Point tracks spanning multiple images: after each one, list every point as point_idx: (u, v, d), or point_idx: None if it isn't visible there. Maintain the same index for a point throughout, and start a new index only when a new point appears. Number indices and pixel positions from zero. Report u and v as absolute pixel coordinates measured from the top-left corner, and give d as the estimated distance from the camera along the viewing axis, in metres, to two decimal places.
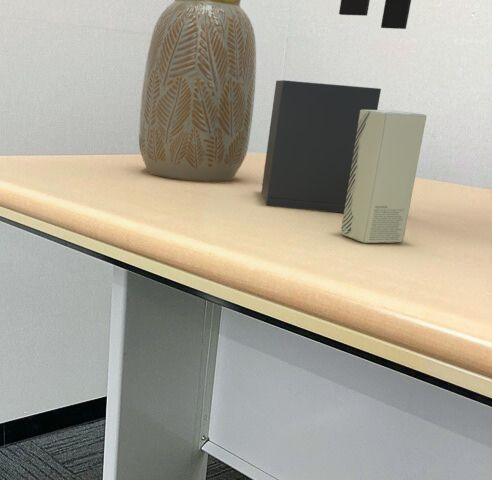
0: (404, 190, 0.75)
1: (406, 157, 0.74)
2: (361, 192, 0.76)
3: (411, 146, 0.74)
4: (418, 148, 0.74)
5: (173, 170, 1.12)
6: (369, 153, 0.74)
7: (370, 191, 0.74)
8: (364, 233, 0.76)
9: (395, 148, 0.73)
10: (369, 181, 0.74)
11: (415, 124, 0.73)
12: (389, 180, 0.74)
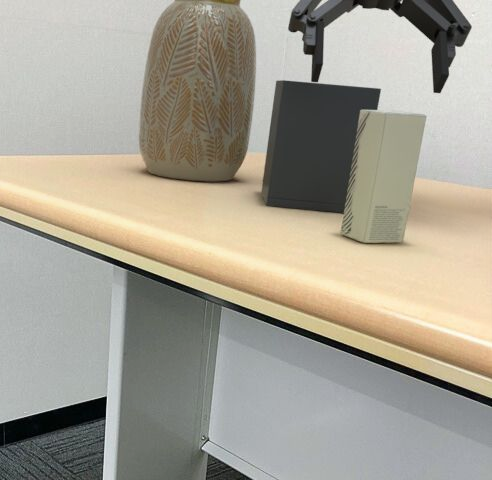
0: (404, 190, 0.75)
1: (406, 157, 0.74)
2: (361, 192, 0.76)
3: (411, 146, 0.74)
4: (418, 148, 0.74)
5: (173, 170, 1.12)
6: (369, 153, 0.74)
7: (370, 191, 0.74)
8: (364, 233, 0.76)
9: (395, 148, 0.73)
10: (369, 181, 0.74)
11: (415, 124, 0.73)
12: (389, 180, 0.74)
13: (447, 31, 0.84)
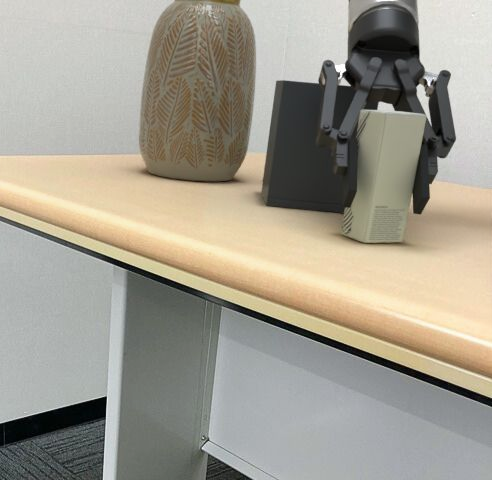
0: (404, 190, 0.75)
1: (406, 157, 0.74)
2: (361, 192, 0.76)
3: (411, 146, 0.74)
4: (418, 148, 0.74)
5: (173, 170, 1.12)
6: (369, 153, 0.74)
7: (370, 191, 0.74)
8: (364, 233, 0.76)
9: (395, 148, 0.73)
10: (369, 181, 0.74)
11: (415, 124, 0.73)
12: (389, 180, 0.74)
13: (427, 143, 0.75)
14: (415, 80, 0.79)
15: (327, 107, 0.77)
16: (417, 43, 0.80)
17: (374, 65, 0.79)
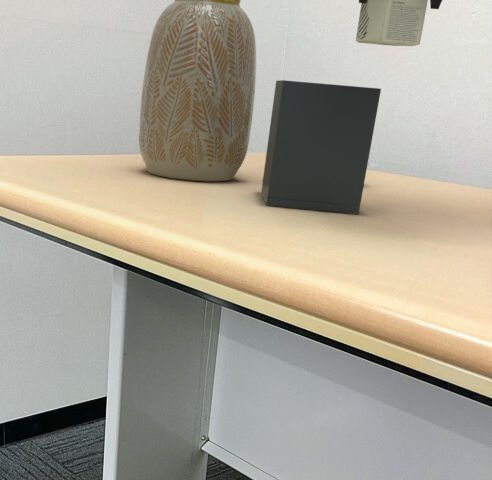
0: None
1: None
2: None
3: None
4: None
5: (173, 170, 1.12)
6: None
7: None
8: (381, 31, 0.74)
9: None
10: None
11: None
12: None
13: None
14: None
15: None
16: None
17: None
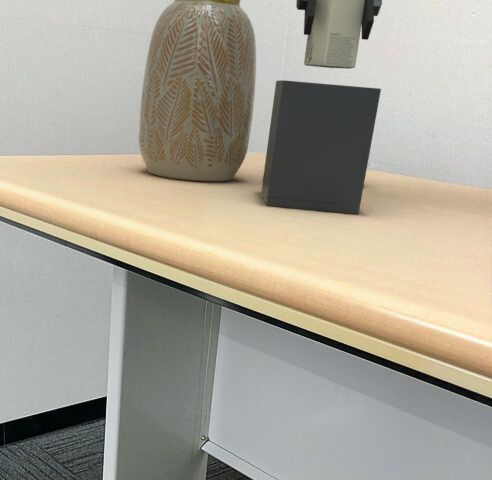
0: (354, 21, 0.91)
1: None
2: (319, 23, 0.91)
3: None
4: None
5: (173, 170, 1.12)
6: None
7: (326, 20, 0.90)
8: (322, 57, 0.92)
9: None
10: (325, 12, 0.90)
11: None
12: (341, 10, 0.90)
13: None
14: None
15: None
16: None
17: None
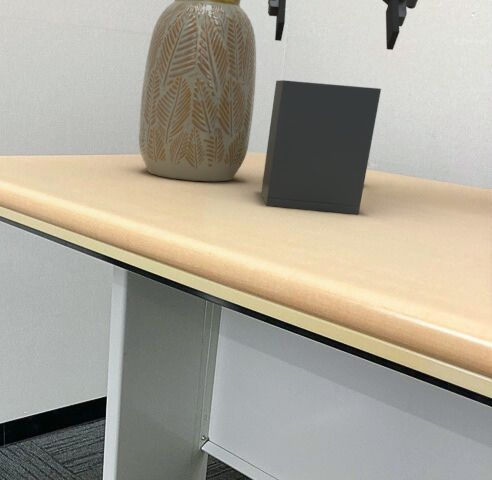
0: None
1: None
2: None
3: None
4: None
5: (173, 170, 1.12)
6: None
7: None
8: None
9: None
10: None
11: None
12: None
13: None
14: None
15: None
16: None
17: None
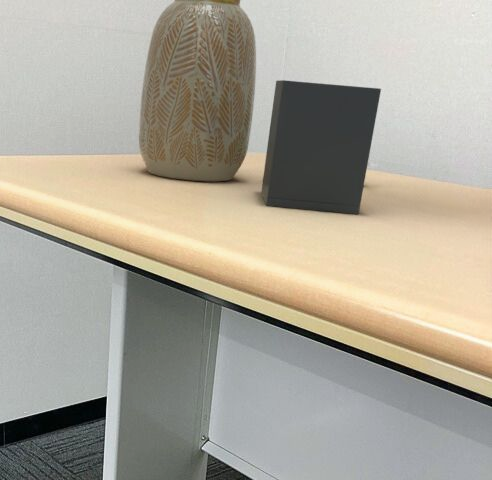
0: None
1: None
2: None
3: None
4: None
5: (173, 170, 1.12)
6: None
7: None
8: None
9: None
10: None
11: None
12: None
13: None
14: None
15: None
16: None
17: None
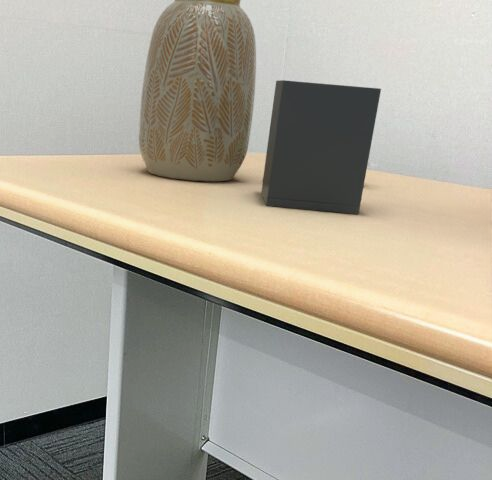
0: None
1: None
2: None
3: None
4: None
5: (173, 170, 1.12)
6: None
7: None
8: None
9: None
10: None
11: None
12: None
13: None
14: None
15: None
16: None
17: None
